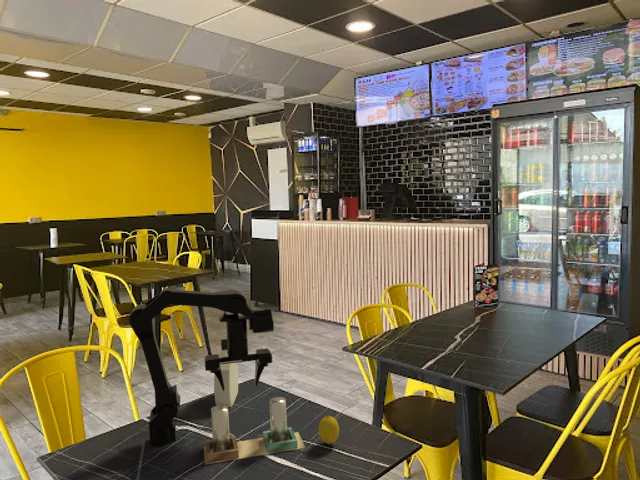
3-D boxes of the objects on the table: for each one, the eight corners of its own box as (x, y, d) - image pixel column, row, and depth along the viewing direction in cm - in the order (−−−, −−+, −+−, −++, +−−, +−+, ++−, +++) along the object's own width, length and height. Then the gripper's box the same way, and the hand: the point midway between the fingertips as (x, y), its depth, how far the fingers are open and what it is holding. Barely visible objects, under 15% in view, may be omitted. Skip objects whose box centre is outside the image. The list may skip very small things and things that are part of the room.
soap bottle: (231, 410, 159) (228, 349, 157) (215, 411, 159) (211, 350, 157) (240, 390, 175) (237, 335, 173) (225, 391, 175) (222, 335, 173)
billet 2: (270, 447, 133) (267, 404, 132) (273, 439, 137) (270, 397, 136) (286, 447, 132) (284, 403, 131) (288, 439, 137) (286, 396, 136)
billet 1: (213, 458, 128) (211, 413, 127) (212, 449, 132) (210, 406, 131) (231, 455, 129) (228, 410, 128) (229, 447, 134) (227, 404, 132)
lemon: (322, 450, 132) (321, 421, 131) (316, 441, 137) (315, 413, 136) (342, 447, 133) (341, 418, 133) (336, 437, 139) (335, 410, 138)
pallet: (205, 468, 125) (204, 456, 125) (204, 450, 134) (203, 440, 134) (305, 451, 132) (305, 440, 132) (298, 435, 141) (297, 425, 140)
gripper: (265, 324, 152) (267, 374, 153) (202, 331, 147) (205, 382, 148) (271, 334, 141) (273, 387, 142) (203, 341, 136) (207, 396, 138)
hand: (239, 388), depth 143 cm, fingers open, 9 cm apart
